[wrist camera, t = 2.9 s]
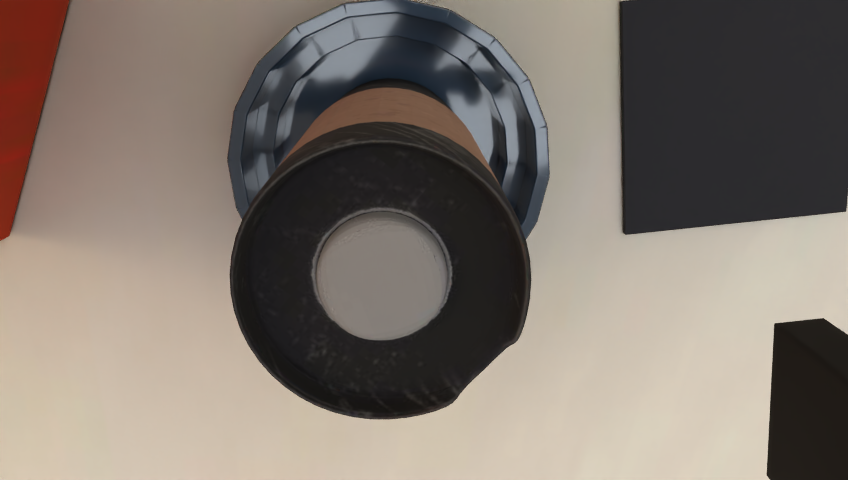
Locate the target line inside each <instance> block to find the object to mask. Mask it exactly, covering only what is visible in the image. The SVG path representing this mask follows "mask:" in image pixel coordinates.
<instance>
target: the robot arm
mask: <svg viewBox="0 0 848 480" xmlns="http://www.w3.org/2000/svg"><path fill="white" fill-rule="evenodd" d="M767 476H768V477H769V479H770V480H848V335H847V334H846V333H844V332H843V331H841V330H840V329H838V328H837V327H835V326H834V325H833V324H831V323H830V322H828V321H827V320H825V319H824V318H822V319H812V320H803V321H794V322H784V323H775V324H774V342H773V362H772V382H771V401H770V421H769V441H768V461H767Z"/></svg>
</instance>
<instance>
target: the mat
mask: <svg viewBox="0 0 848 480" xmlns="http://www.w3.org/2000/svg"><path fill="white" fill-rule="evenodd" d="M620 46H621V109H622V171H623V232H624V234H626V235H627V234H637V233H646V232H656V231H666V230H675V229H685V228H694V227H704V226H713V225H723V224H732V223H742V222H751V221H761V220H770V219H780V218H789V217H799V216H808V215H818V214H827V213H837V212H846V208H847V195H848V0H630V1H621V2H620Z"/></svg>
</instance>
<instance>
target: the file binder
mask: <svg viewBox="0 0 848 480" xmlns="http://www.w3.org/2000/svg"><path fill="white" fill-rule="evenodd" d="M68 3H69V0H0V241H1V240H3V239H4V238H6V237H8V236H9V235H10V231H11V227H12V223H13V219H14V215H15V211H16V207H17V204H18V200H19V196H20V192H21V188H22V184H23V180H24V176H25V172H26V168H27V164H28V160H29V156H30V153H31V149H32V145H33V141H34V137H35V133H36V129H37V125H38V121H39V117H40V113H41V109H42V105H43V102H44V98H45V94H46V90H47V86H48V82H49V78H50V74H51V70H52V66H53V62H54V58H55V54H56V51H57V47H58V43H59V39H60V35H61V31H62V27H63V23H64V19H65V15H66V11H67V7H68Z"/></svg>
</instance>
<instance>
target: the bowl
mask: <svg viewBox="0 0 848 480" xmlns="http://www.w3.org/2000/svg"><path fill="white" fill-rule="evenodd" d="M385 78H397V79H404V80H408V81H412V82H415V83H417V84H420V85H422V86H424V87H426V88H427V89H429V90H431V91H432V92H433V93H435V94H436V95H437V96H438V97H439V98H441V99H442V100H443V101H444V102H445V104H446V105H447V106H448V107H449V108H450V109H451V110H452V111H453V112H454V113H455V114H456V115H457V116H458V117H459V119H460V120H461V121H462V122H463V123H464V124H465V126H466V127H467V129H468V130H469V131H470V133H471V134H472V136H473V138H474V140H475V141H476V143H477V145H478V147H479V149H480V150H481V152H482V154H483V156H484V158H485V159H486V161H487V163H488V165H489V167H490V168H491V170H492V172H493V174H494V176H495V177H496V179H497V181H498V183H499V185H500V186H501V188H502V190H503V192H504V193H505V195H506V197H507V199H508V201H509V202H510V204H511V206H512V208H513V210H514V212H515V214H516V216H517V218H518V220H519V222H520V225H521V228H522V231H523V233H524V236H525V239H527V237H528V236H529V234H530V233H531V231H532V229H533V228H534V226H535V225H536V222H537V221H538V217H539V214H540V210H541V206H542V203H543V199H544V195H545V192H546V188H547V184H548V181H549V175H550V170H549V149H548V128H547V124H546V121H545V118H544V116H543V113H542V110H541V108H540V105H539V103H538V100H537V97H536V95H535V92H534V90H533V87H532V84H531V82H530V80H529V79H528V76H527V75H526V74H525V73H524V71H523V70H522V69H521V68H520V67H519V65H518V64H517V63H516V62H515V61H514V59H513V58H512V57H511V56H510V54H509V53H508V52H507V51H506V50H505V48H504V47H503V46H502V45H501V44H500V42H499V41H498V40H497V39H496V38H495V37H494V36H492V35H490V34H489V33H487V32H486V31H484V30H482V29H481V28H479V27H478V26H476V25H474V24H473V23H471V22H470V21H468V20H466V19H465V18H463V17H461V16H460V15H458V14H457V13H455V12H453V11H451V10H449V9H446V8H441V7H437V6H433V5H428V4H424V3H419V2H415V1H411V0H369V1H359V2H350V3H344V4H341V5H339V6H337V7H335V8H332V9H330V10H328V11H326V12H324V13H322V14H320V15H317V16H315V17H313V18H311V19H309V20H307V21H305V22H303V23H300V24H298V25H297V26H296V27H294V28H293V29H292V30H291V31H290V32H288V33H287V34H286V35H285V36H284V37H283V38H282V39H281V40H280V41H279V42H278V43H277V44H276V45H275V46H274V47H273V48H272V49H271V50H270V51H269V52H268V53H267V54H266V55H265V56H264V57H263V58H262V59H261V60H260V61H259V62H258V63H257V65H256V67H255V69H254V71H253V73H252V74H251V76H250V78H249V80H248V82H247V84H246V86H245V88H244V90H243V92H242V94H241V96H240V98H239V100H238V102H237V104H236V106H235V110H234V114H233V121H232V128H231V135H230V143H229V150H228V157H227V159H228V160H227V162H228V167H229V172H230V178H231V183H232V188H233V194H234V199H235V204H236V208H237V211H238V213H239V214H240V216H241V218H242V219H243V217H244V215H245V213H246V211H247V210H248V208H249V206H250V204H251V202H252V201H253V199H254V198H255V196H256V195H257V194H258V192H259V191H260V190H261V188H262V187H263V186H264V184H265V183H266V182H267V181H268V179H269V178H270V177H271V176H272V174H273V173H274V172H275V170H276V169H277V168H278V167H279V165H280V164H281V163H282V162H283V160H284V159H285V158H286V156H287V155H288V154H289V153H290V151H291V150H292V149H293V147H294V146H295V145H296V144H297V142H298V141H299V140H300V139H301V137H302V136H303V135H304V133H305V132H306V131H307V130H308V128H309V127H310V126H311V124H312V123H313V122H314V121H315V120H316V119H317V118H318V117H319V116H320V115H321V114H322V113H323V112H324V111H325V110H326V109H327V108H328V107H330V106H331V105H332V104H334V103H335V102H336V101H337V100H339V99H340V98H341V97H343V96H344V95H345V94H347V93H348V92H349V91H351V90H352V89H354V88H356V87H358V86H360V85H362V84H364V83H367V82H369V81H373V80H377V79H385Z"/></svg>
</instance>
